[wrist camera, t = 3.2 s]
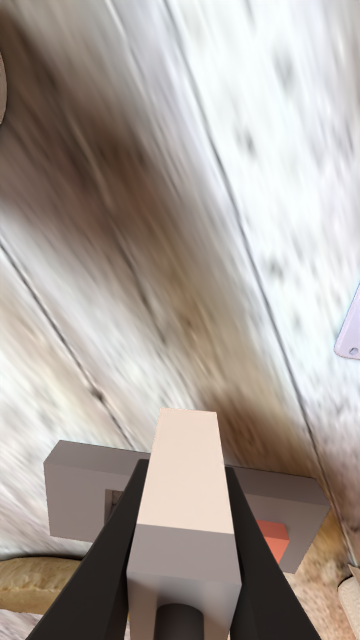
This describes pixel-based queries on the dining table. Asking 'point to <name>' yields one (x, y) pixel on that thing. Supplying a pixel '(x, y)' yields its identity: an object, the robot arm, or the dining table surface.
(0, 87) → the beer can
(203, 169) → the dining table surface
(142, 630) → the plug
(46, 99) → the dining table surface
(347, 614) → the paper towel roll
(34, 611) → the stone tool
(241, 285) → the dining table surface
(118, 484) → the power strip
